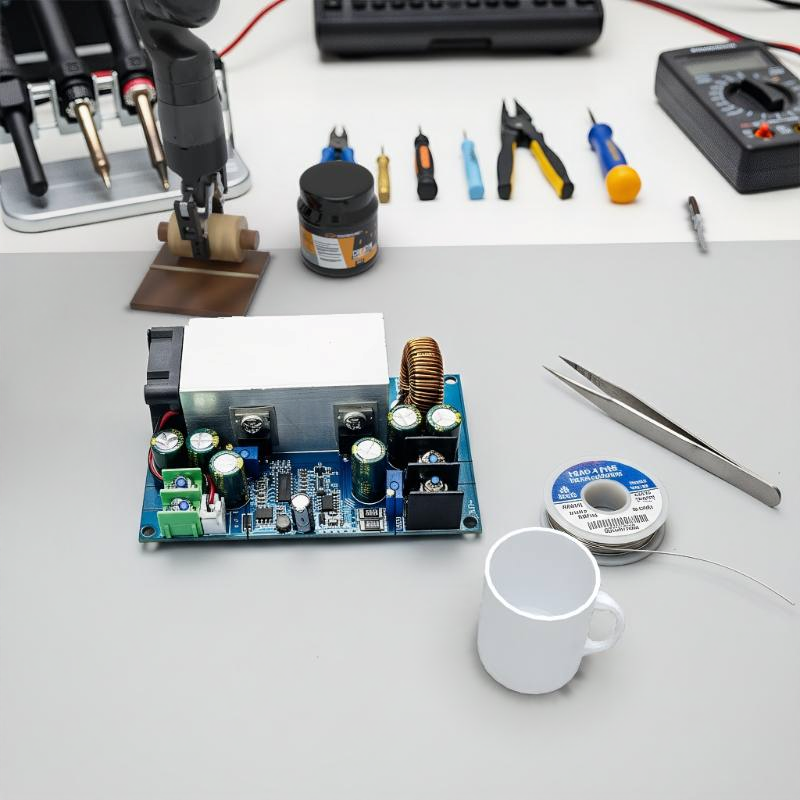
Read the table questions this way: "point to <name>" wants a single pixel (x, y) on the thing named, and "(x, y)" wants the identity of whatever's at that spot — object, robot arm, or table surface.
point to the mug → (540, 610)
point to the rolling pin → (214, 237)
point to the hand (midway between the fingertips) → (209, 244)
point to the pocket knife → (696, 218)
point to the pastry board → (200, 285)
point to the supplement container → (338, 218)
